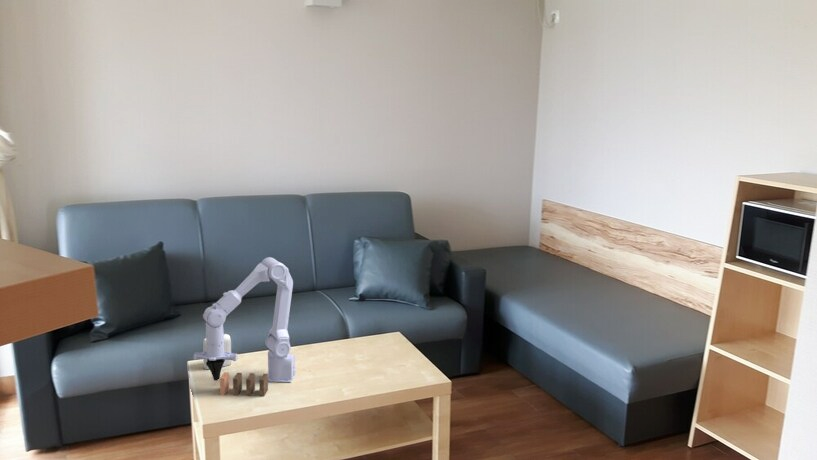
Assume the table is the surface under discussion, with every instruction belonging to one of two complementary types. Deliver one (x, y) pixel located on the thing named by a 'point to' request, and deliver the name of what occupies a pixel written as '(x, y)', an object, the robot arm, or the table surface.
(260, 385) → the walnut domino
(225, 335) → the white box with text
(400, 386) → the table surface
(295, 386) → the table surface
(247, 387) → the walnut domino
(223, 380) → the terracotta domino
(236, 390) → the walnut domino
